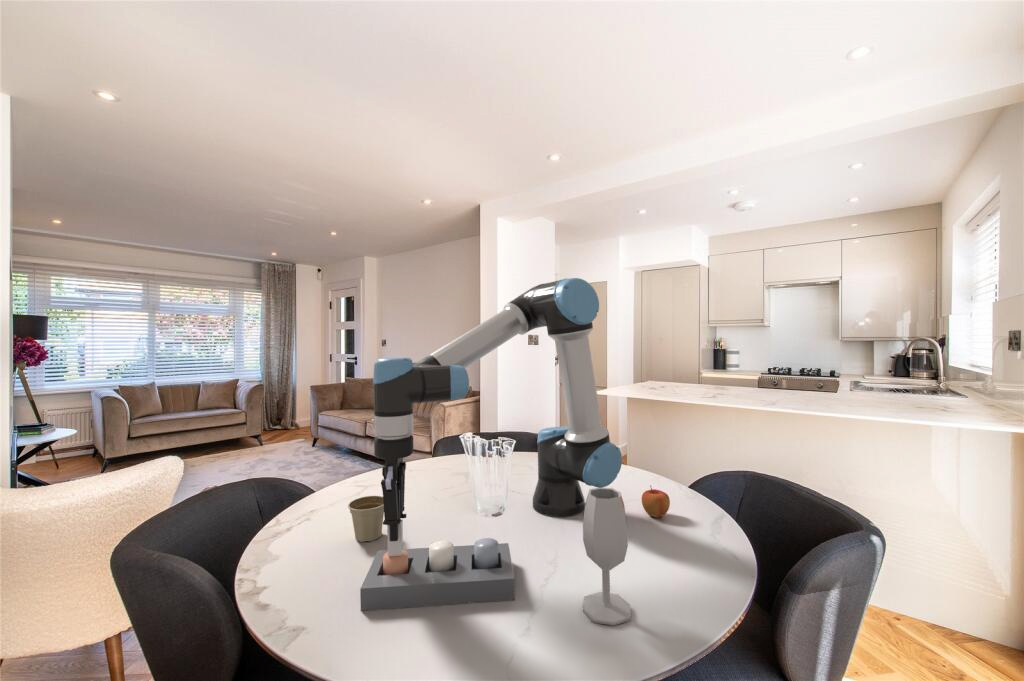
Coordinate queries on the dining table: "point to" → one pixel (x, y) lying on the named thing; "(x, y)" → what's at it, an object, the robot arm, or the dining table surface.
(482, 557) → the slate key
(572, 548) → the dining table surface
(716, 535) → the dining table surface
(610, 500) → the wineglass
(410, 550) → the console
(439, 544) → the ivory key
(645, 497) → the apple
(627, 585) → the dining table surface
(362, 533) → the flower pot
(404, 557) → the terracotta key
